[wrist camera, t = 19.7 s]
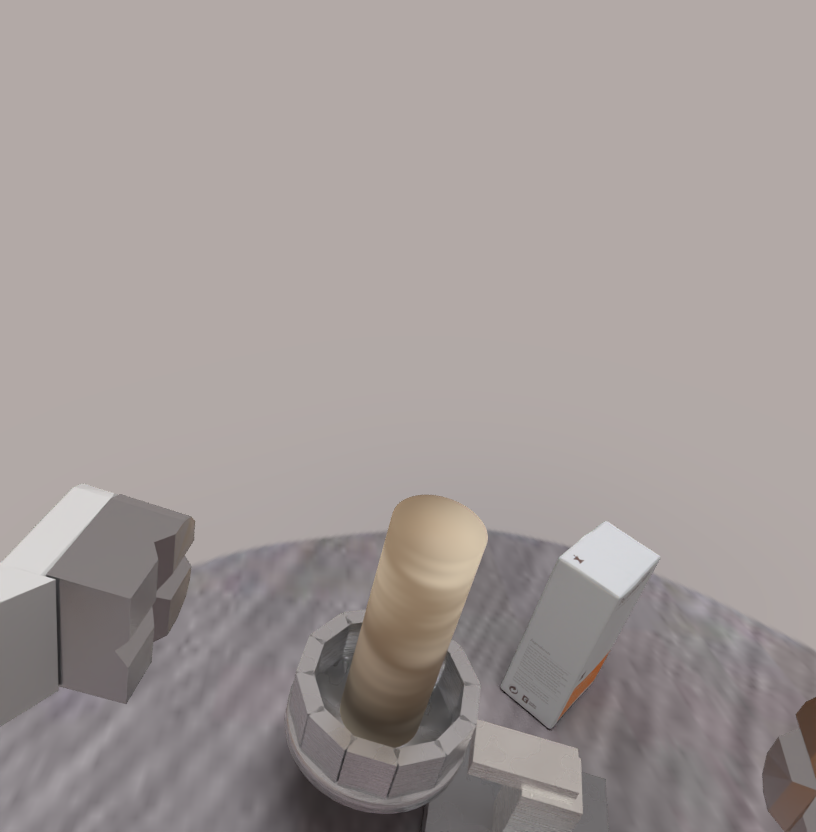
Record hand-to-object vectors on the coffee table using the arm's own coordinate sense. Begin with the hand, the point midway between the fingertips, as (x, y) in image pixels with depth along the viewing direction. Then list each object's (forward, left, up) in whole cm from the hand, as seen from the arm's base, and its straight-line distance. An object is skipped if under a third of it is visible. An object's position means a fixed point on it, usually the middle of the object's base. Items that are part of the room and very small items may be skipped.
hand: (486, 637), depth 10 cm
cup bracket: (-5, -17, -32) cm, 37 cm away
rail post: (0, -17, -24) cm, 29 cm away
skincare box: (-11, -29, -32) cm, 45 cm away
